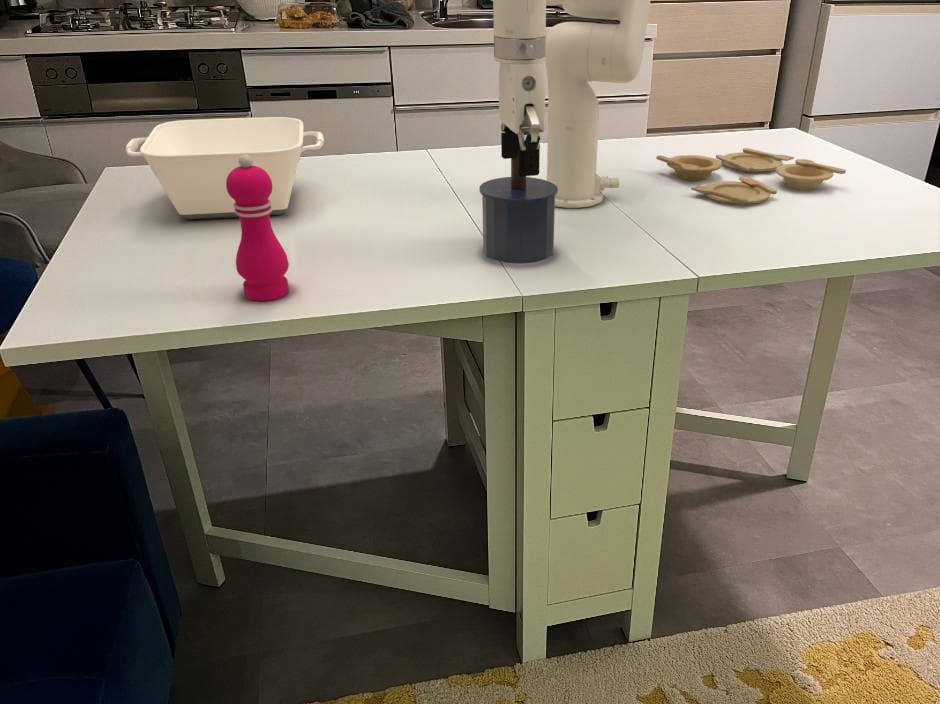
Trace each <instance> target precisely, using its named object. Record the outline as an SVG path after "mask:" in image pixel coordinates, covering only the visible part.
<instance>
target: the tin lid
mask: <svg viewBox="0 0 940 704" xmlns="http://www.w3.org/2000/svg"><path fill="white" fill-rule="evenodd" d="M478 190H479V194H480V195H481V196H482V195H483V196H484V197H487V198H489V199H492V200H496V201H502V202H510V203H530V202H538V201H543V200H547V199H550V198H552V197H554V196H555V195H556V194H557V193H558V188H557V186H556V185H555V184H553V183H552V182H549V181H547V179H542V178H537V177H532V176H523V177H521V176H519V174H518V157H514V158H510V176H505V177H498V178H497V177H496V178H493V179H489V180H486V181H484V182H483V183H481V184H480V185H479V189H478Z"/></svg>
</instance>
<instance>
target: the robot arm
mask: <svg viewBox="0 0 940 704" xmlns="http://www.w3.org/2000/svg"><path fill="white" fill-rule="evenodd" d="M491 2H492V11H493V13H492V14H493V16H492V17H493V18H492V19H493V60H494V61H495V62H498V63H499V68H498V112H499V113H498V114H499V118H500V120H501V124H500V131H501V133H500V138H501V139H500V145H501V146H500V148H501V151H500V152H501V158H502V159H504V160H506V159H507V160H508V159H512V158H514V157H518V174H519V176H521V177H523V176H526V177H533V176H539V174H540V159H541V158H540V153H541V151H540V150H541V142H540V141H541V135H540V133H544V131H545V130H546V127H547V147H546V148H547V150H546V151H547V152H546V159H547V160H546V181H549V182H552V183H553V184H555V185H556V186H557V188H558V193H557V194H556V195H555V207H557V208H558V207H559V208H567V209H571V208H572V209H578V208H588V207H592V206H596V205H598V204H600V203H601V202H603V198H604V193H603V191H604V190H605V189H618V188H619V187H620V179H619V177H610V178H609V176H608V175H604V176H602V175H601V176H599V175H598V174H597V163H598V161H597V160H598V145H599V144H598V143H599V127H600V126H599V125H600V104H599V103H600V102H599V100H598V97H597V95H596V93H595V91H594V89H593V87H591V85H590V83H589V82H600V83H601V82H603V83H604V82H605V83H614V84H627V83H630V82H632V81H634V80H635V79H636V78H637V76H638V74H639V73H640V68H641V65H642V60H643V54H644V48H645V40H646V34H647V26H648V21H649V14H650V6H651V0H491ZM560 5H562V9H563V10H564V11H565V13H567V14H568V15H570V16H573V17H577V18H583V19H596V20H611V21H613V20H614V21H619V24H616V23H615V24H614V23H599V22H598V23H597V22H587V21H586V22H585V21H563V22H560V23H557V24H555V25H553V26H552V27H551V28H550V29H549V30H548V32H547V7H548V6H551V7H554V6H556V7H557V6H560ZM546 32H547V33H546ZM543 62H545V68H546V77H547V97H548V98H547V99H548V100H547V101H548V103H547V106H548V107H547V122H546V91H545V89H546V88H545V77H544V76H545V75H544V67H543ZM546 123H547V126H546Z"/></svg>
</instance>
